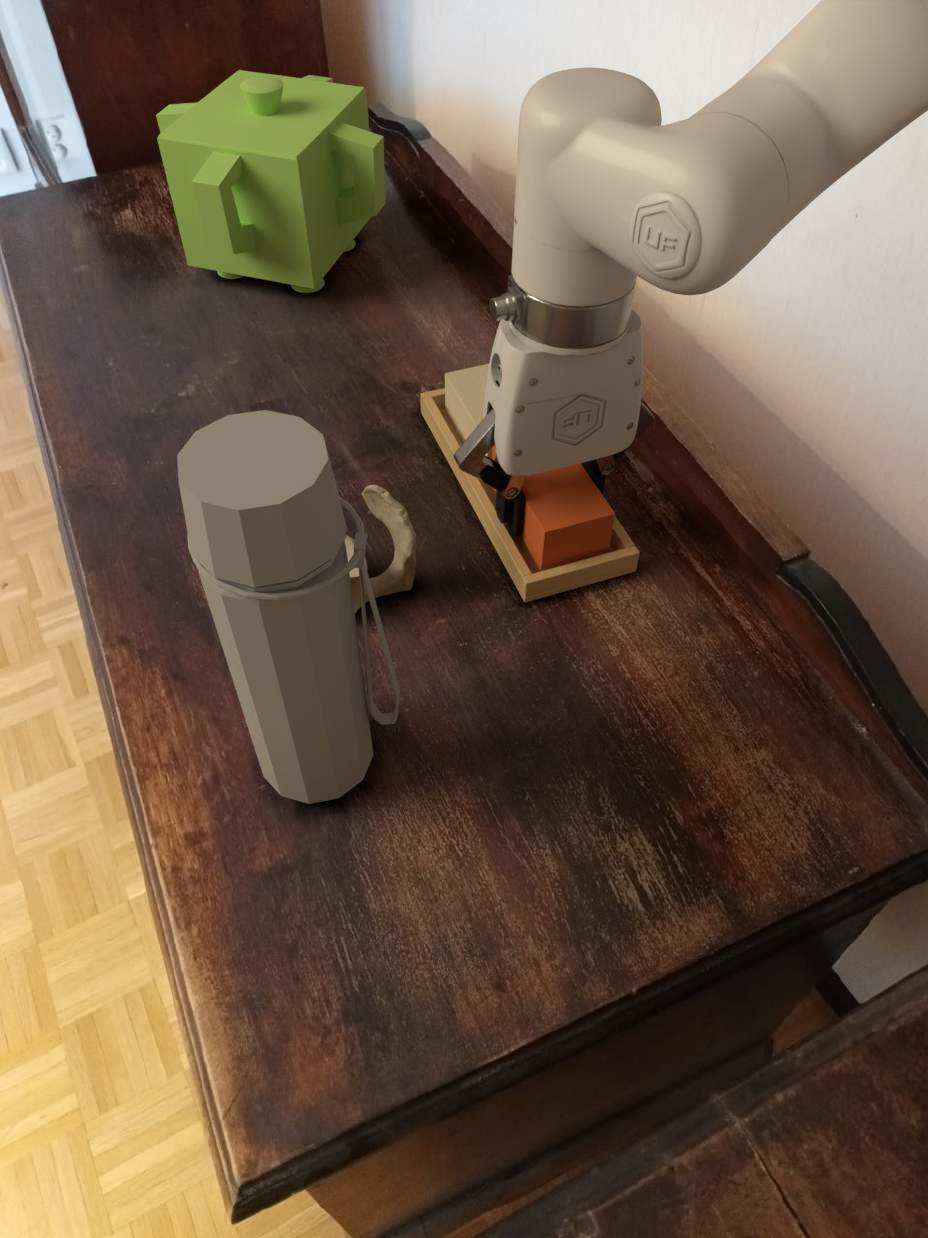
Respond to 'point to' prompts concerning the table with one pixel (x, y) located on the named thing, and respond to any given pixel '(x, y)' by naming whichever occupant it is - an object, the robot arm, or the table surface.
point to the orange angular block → (564, 516)
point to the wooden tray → (514, 548)
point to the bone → (404, 542)
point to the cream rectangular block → (466, 399)
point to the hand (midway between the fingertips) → (548, 512)
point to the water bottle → (285, 597)
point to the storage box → (272, 176)
